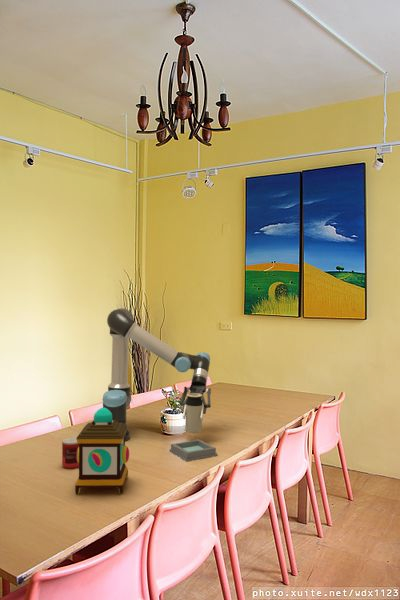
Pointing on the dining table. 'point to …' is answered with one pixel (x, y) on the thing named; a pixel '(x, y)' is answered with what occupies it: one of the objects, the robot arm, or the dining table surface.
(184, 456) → the tray
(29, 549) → the dining table surface
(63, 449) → the canned food
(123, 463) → the decorative lantern
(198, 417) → the travel mug
